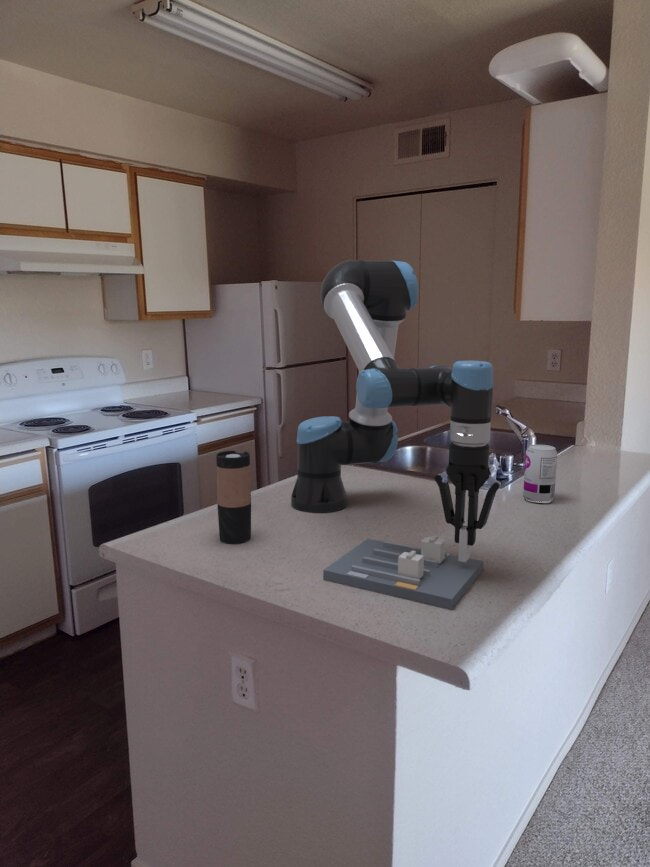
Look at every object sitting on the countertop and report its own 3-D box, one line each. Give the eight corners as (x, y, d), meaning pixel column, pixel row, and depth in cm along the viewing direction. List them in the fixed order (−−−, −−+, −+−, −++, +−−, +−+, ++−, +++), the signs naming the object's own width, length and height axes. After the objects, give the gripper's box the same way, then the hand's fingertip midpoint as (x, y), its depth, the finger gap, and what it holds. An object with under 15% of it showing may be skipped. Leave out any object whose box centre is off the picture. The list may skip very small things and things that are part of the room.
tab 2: (420, 559, 131) (421, 538, 130) (426, 555, 133) (426, 533, 132) (439, 563, 129) (440, 541, 128) (444, 558, 131) (445, 537, 130)
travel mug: (224, 546, 144) (222, 459, 140) (214, 536, 151) (211, 452, 147) (256, 541, 147) (255, 455, 143) (245, 530, 154) (243, 449, 150)
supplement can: (521, 502, 176) (524, 449, 173) (524, 494, 184) (527, 443, 181) (553, 506, 173) (557, 451, 170) (554, 497, 181) (558, 445, 178)
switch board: (323, 579, 127) (323, 565, 126) (367, 547, 144) (367, 534, 143) (451, 609, 114) (452, 593, 114) (483, 570, 131) (483, 556, 131)
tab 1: (397, 576, 122) (398, 554, 122) (403, 571, 125) (404, 548, 124) (417, 581, 120) (418, 557, 120) (423, 575, 123) (424, 552, 122)
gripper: (430, 442, 123) (426, 559, 128) (498, 450, 117) (491, 572, 121) (443, 435, 129) (438, 547, 134) (508, 442, 123) (501, 559, 128)
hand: (464, 559), depth 128 cm, fingers closed
